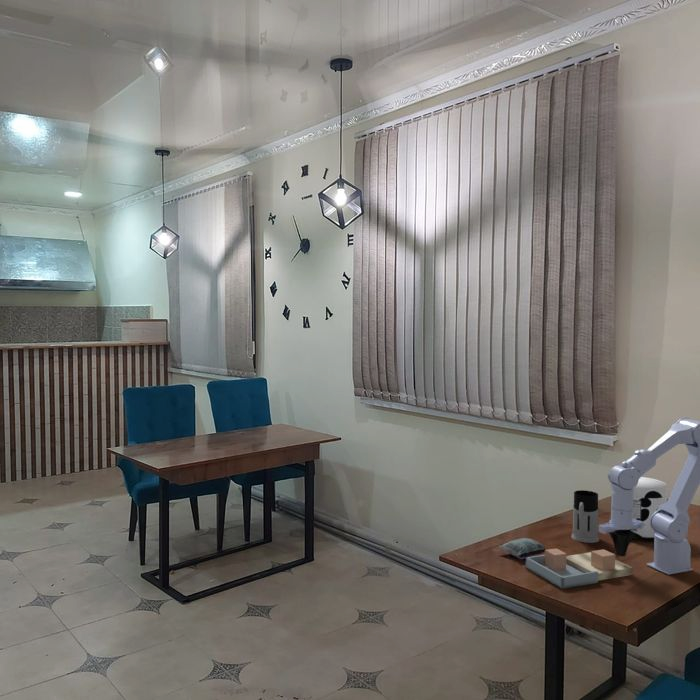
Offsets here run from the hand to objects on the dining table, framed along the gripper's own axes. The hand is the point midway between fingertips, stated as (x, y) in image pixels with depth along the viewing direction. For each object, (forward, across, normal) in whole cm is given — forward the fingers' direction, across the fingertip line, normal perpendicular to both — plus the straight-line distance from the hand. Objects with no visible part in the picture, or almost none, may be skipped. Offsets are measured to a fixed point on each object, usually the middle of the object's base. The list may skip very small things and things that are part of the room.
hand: (620, 555), depth 185 cm
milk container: (+5, -30, -22) cm, 38 cm away
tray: (+5, +18, -4) cm, 19 cm away
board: (+4, +5, -4) cm, 8 cm away
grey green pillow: (+5, +19, -21) cm, 28 cm away
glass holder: (+5, -8, -24) cm, 26 cm away
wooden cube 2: (+2, +6, 0) cm, 7 cm away
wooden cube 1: (+2, +15, -7) cm, 17 cm away
